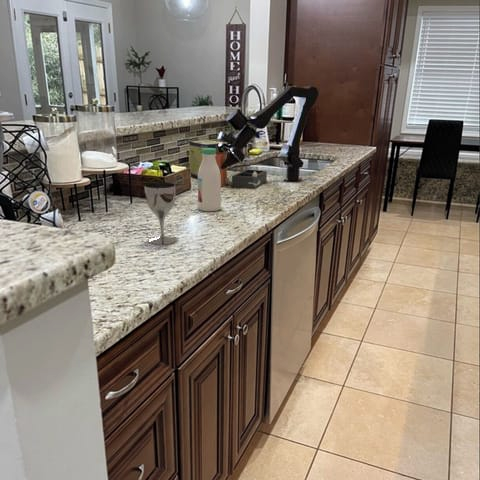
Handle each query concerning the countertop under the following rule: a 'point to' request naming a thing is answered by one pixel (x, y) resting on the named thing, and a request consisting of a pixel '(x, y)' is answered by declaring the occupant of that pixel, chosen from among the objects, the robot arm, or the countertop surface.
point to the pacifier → (254, 176)
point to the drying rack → (248, 178)
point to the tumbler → (220, 160)
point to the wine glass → (160, 206)
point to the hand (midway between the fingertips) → (217, 166)
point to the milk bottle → (209, 182)
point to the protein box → (199, 154)
